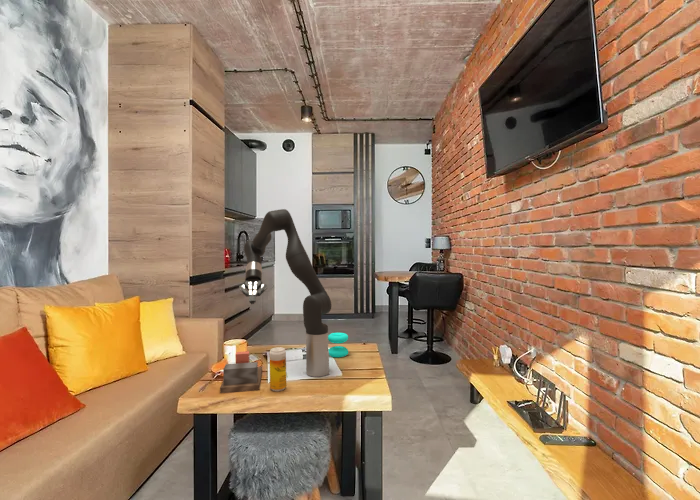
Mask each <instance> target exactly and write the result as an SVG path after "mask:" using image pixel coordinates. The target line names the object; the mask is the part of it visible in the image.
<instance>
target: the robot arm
mask: <svg viewBox="0 0 700 500" xmlns="http://www.w3.org/2000/svg"><path fill="white" fill-rule="evenodd" d="M263 217H264V218H263V220H262V222H261V226H260V229H259V231H258V233H256V234H255V236H254V238H253V239H252V240H250V239H249V240H247V241H245V243H244V246H243V251H244V254H245V258H246V268H245V275H244V276H245V278H244V282H243V284H241V285H239V286H238V287H239V291H240V292H241V293H242V294H243V295H244V296H245V297H246V298H249V299H248V302H249V304H251V305H255V304H256V300H257V297H260V296H261V295H263V293H264V292H265V291H266V290H267V289H268V288H267V286H268V285H267V284H264V283H263V281H262V278H263V268H262V263H263V262H262V257H263V256H264V255H265V253H266V247H267V245H268V244H270V242H271V240H272V233H273V232H279V231H284V232H285V234H286V237H287V244H286V245H287V246H286V248H285V249H286V250H285V251H286V252H285V260H286V263H287V265H288V267H289V269H290V271H291V273H292V274H293V275H294V276H295V277H296V278H297V279H298V280H299V281H300V282H301V283H302V284H303V285H304V286H305V288H306V289H307V291H308V293H309V295H308V296H306V297H305V298H304V300H303V302H302V303H303V304H302V313H303V326H304V328H305V354H306V355H305V358H306V359H305V360H306V361H305V362H306V368H305V370H306V372H305V373H306V375H307V376H309V377H315V378H316V377H318V378H320V377H324V376H326V375H330V355H329V351H328V350H329V340H328V335H329V327H328V325H327V323H324V322H323V321H322V316H324V315H327V314H329V313H330V311H331V309H332V301H331V298H330V296H329V294H328V293H327V291H326V288H325V287H324V286H323V284H322V283H321V281H320V278H319V277H318V275H317V273H316V271H315V268H314V267H313V264H312V262H311V260H310V257H309V254H308V253H307V251H306V249H305V247H304V245H303V243H302V241H301V238H300V236H299V234H298V231H297V229H296V226H295V223H294V219H293V217H292V215H291V213H290V211H289V210H287V209H285V208H284V209H283V208H281V209H275V210H270V211H268V212H266V214H265V215H264V216H263Z"/></svg>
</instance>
